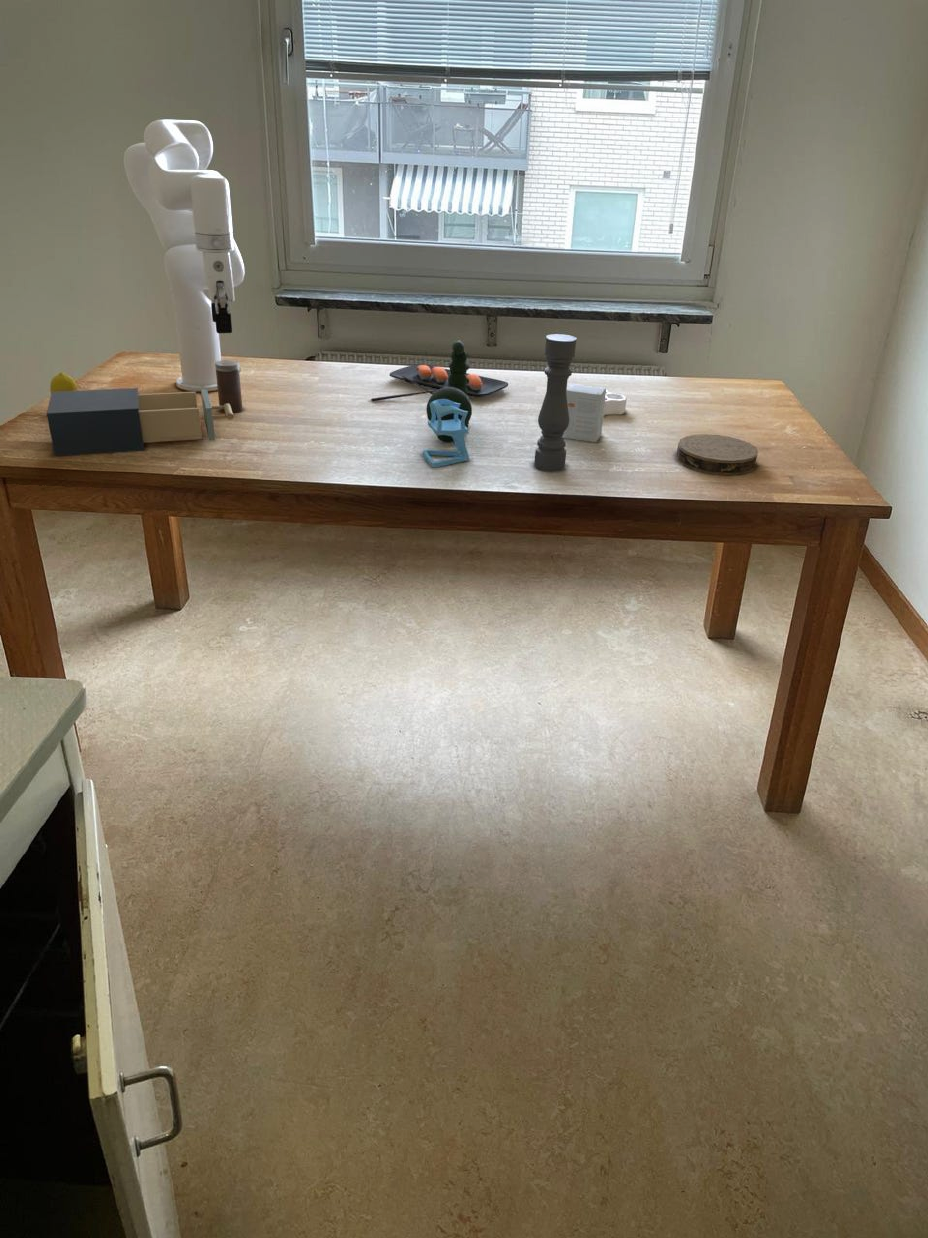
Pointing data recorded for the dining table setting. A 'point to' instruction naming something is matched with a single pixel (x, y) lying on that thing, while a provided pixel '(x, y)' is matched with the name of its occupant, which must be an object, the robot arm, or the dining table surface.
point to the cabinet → (95, 421)
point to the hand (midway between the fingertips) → (222, 327)
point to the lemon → (63, 383)
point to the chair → (448, 432)
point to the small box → (585, 412)
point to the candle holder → (555, 403)
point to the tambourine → (716, 454)
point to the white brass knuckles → (614, 403)
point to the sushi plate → (442, 381)
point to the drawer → (177, 416)
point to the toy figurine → (454, 388)
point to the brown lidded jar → (229, 384)
